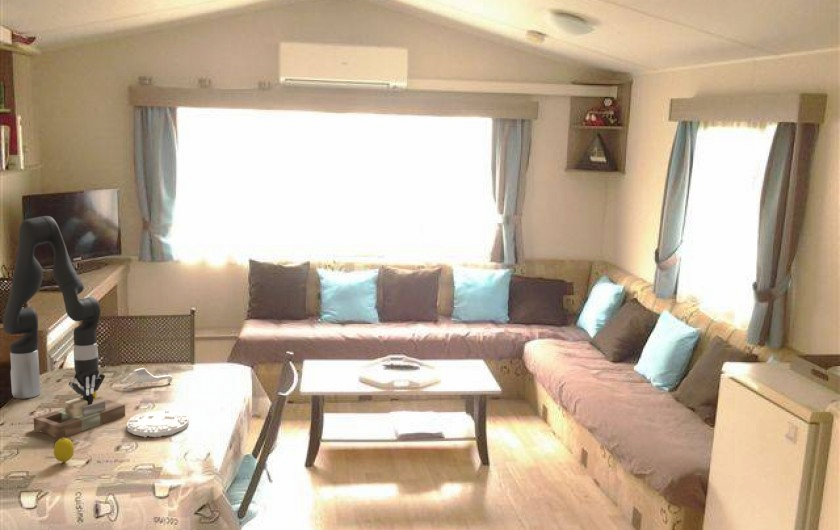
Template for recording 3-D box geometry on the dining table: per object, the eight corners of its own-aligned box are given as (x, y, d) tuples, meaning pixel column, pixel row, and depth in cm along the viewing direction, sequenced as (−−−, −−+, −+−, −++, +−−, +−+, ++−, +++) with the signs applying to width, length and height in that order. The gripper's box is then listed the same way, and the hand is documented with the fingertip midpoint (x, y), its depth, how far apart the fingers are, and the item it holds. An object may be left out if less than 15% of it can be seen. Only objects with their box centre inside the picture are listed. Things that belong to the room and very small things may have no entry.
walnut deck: (34, 429, 250) (32, 409, 248) (99, 407, 271) (98, 389, 270) (60, 438, 243) (58, 418, 241) (125, 415, 264) (124, 396, 263)
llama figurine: (130, 403, 293) (174, 382, 299) (117, 379, 290) (162, 358, 295) (130, 402, 295) (174, 380, 300) (117, 377, 291) (161, 356, 297)
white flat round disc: (200, 422, 262) (200, 414, 261) (163, 442, 243) (163, 434, 243) (152, 413, 268) (152, 405, 267) (113, 432, 249) (113, 424, 249)
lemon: (58, 458, 228) (57, 434, 227) (77, 458, 229) (76, 433, 227) (51, 466, 223) (49, 441, 221) (70, 466, 223) (69, 441, 222)
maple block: (65, 413, 254) (64, 402, 253) (78, 409, 258) (78, 398, 257) (74, 416, 251) (74, 405, 251) (87, 412, 256) (87, 401, 255)
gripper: (96, 349, 263) (98, 397, 266) (61, 358, 252) (64, 407, 255) (109, 353, 259) (111, 401, 262) (75, 362, 248) (77, 412, 251)
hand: (88, 404), depth 258 cm, fingers closed
